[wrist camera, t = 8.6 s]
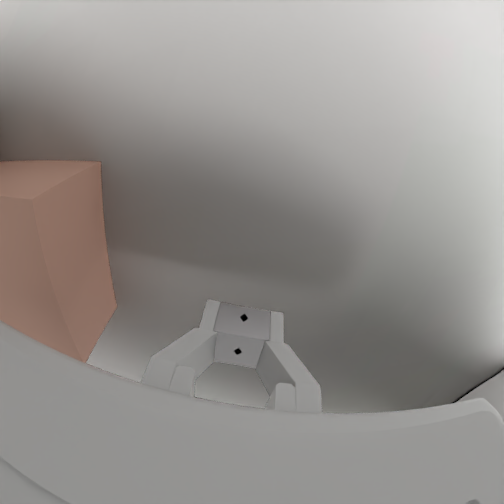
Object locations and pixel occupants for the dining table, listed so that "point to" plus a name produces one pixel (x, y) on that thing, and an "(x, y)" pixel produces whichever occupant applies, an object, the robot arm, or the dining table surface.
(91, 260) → the terracotta block
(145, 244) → the dining table surface
